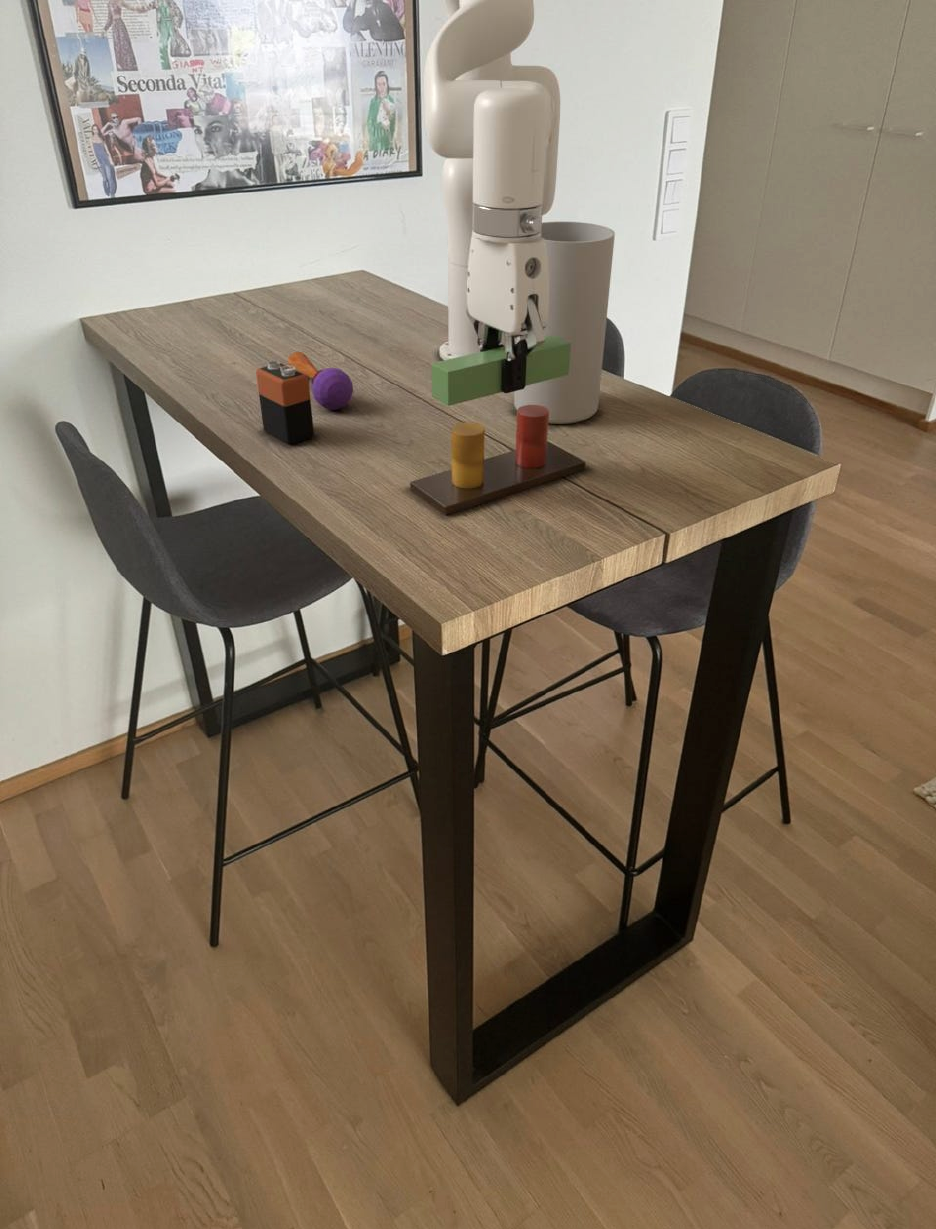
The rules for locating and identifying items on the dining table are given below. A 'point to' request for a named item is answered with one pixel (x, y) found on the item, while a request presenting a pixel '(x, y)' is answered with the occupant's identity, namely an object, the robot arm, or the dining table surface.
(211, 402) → the dining table surface
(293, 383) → the battery
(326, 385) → the kendama
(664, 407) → the dining table surface
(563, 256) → the cylinder vase
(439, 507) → the rod stand
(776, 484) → the dining table surface
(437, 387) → the green bar
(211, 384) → the dining table surface
